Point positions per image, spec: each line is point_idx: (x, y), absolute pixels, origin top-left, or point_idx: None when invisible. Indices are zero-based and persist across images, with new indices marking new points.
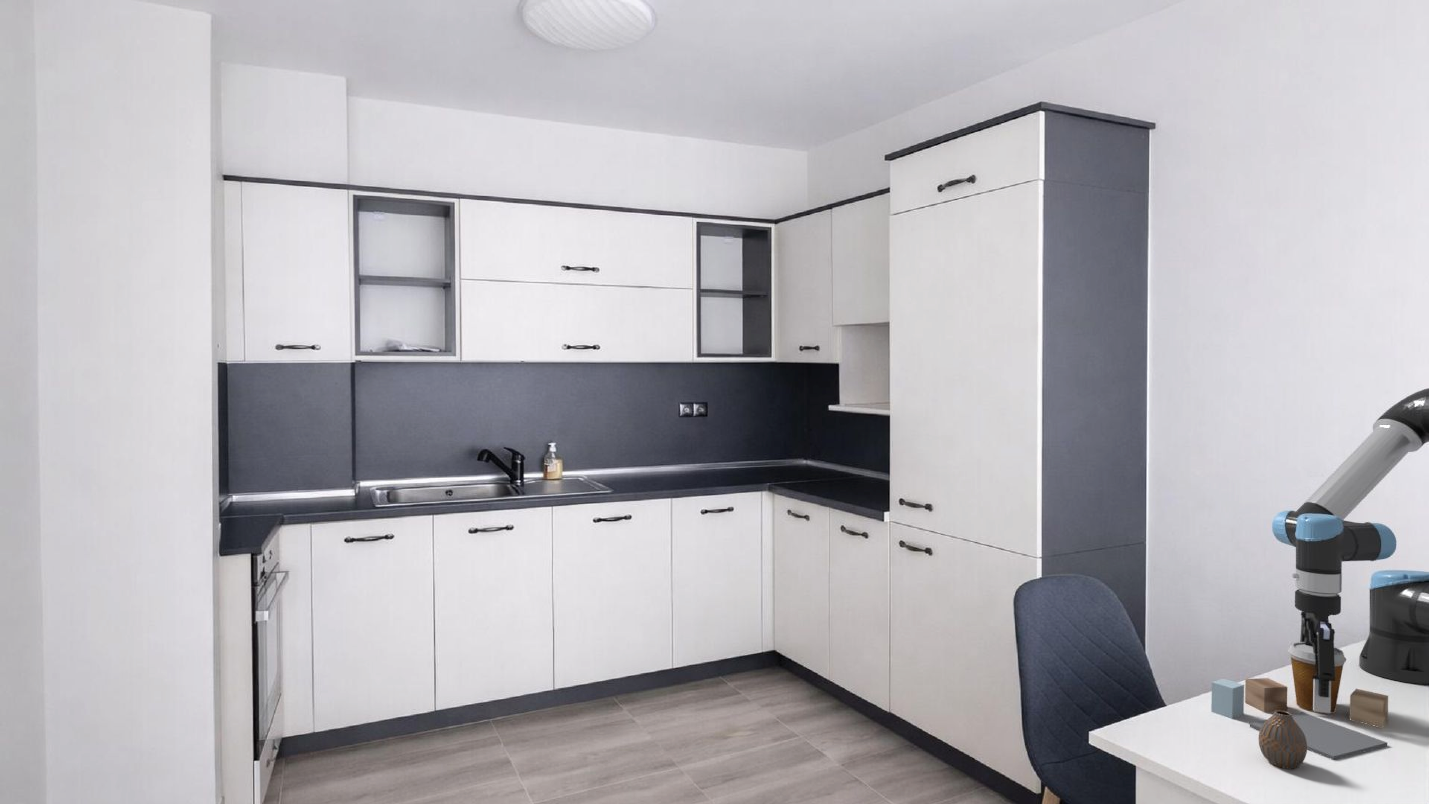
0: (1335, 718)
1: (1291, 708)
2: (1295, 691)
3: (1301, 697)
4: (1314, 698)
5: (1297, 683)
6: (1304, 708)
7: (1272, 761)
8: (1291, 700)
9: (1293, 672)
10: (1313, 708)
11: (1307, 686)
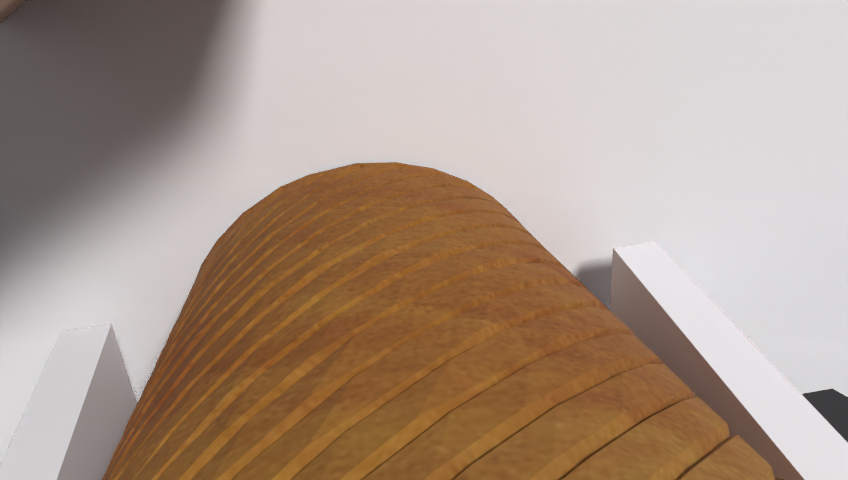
0: None
1: (179, 90)
2: (369, 220)
3: (223, 268)
4: (11, 449)
5: (254, 335)
6: (227, 233)
7: None
8: (518, 115)
9: (375, 397)
10: (79, 343)
11: (104, 477)
